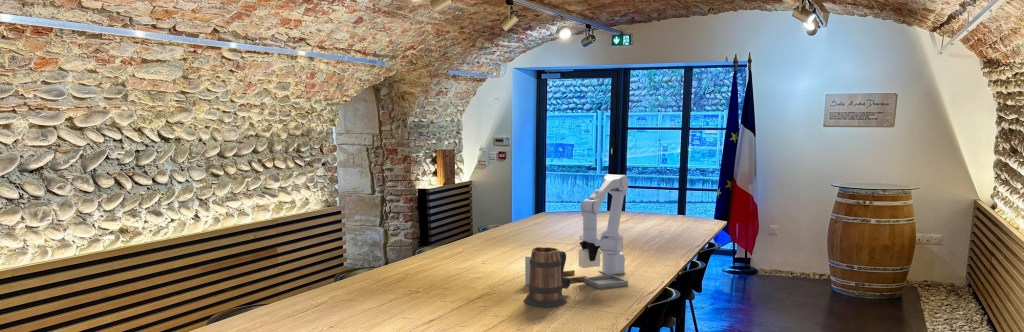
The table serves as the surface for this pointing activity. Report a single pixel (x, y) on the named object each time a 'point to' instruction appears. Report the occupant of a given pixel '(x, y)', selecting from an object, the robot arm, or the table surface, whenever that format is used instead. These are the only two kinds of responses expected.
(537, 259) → the tankard
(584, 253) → the beige rectangular block
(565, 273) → the walnut dock
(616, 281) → the grey tray
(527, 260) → the skincare box
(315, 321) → the table surface
